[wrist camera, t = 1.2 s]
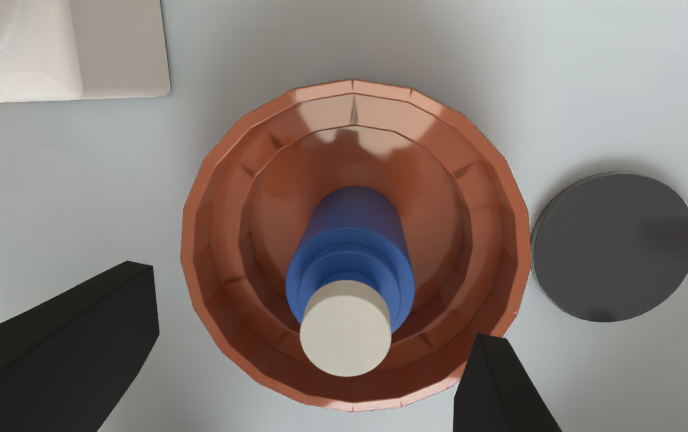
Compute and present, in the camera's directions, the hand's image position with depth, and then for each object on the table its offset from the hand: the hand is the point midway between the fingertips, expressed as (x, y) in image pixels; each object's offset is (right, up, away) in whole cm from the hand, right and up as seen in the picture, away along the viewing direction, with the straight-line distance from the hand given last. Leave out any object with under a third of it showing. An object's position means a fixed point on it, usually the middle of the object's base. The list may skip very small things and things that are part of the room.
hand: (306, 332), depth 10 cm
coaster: (+13, +1, +11) cm, 17 cm away
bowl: (+1, +2, +12) cm, 12 cm away
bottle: (+1, +2, +11) cm, 11 cm away
